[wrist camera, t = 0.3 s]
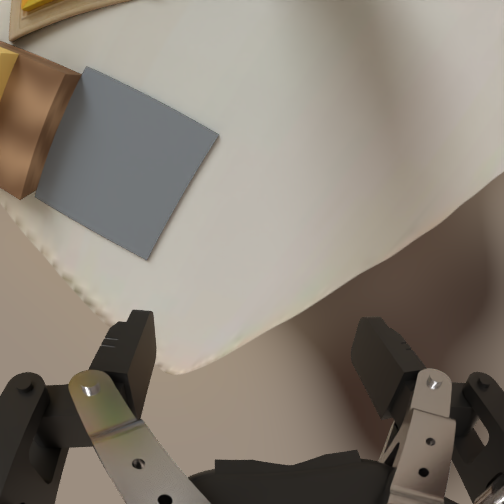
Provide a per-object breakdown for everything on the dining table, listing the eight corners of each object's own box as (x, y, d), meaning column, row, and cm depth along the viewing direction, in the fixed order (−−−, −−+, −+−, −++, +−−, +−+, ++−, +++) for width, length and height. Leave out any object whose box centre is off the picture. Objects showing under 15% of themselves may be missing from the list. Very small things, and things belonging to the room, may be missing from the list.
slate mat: (87, 66, 24) (86, 66, 24) (218, 134, 29) (218, 135, 29) (36, 195, 30) (34, 197, 30) (147, 258, 35) (146, 260, 34)
